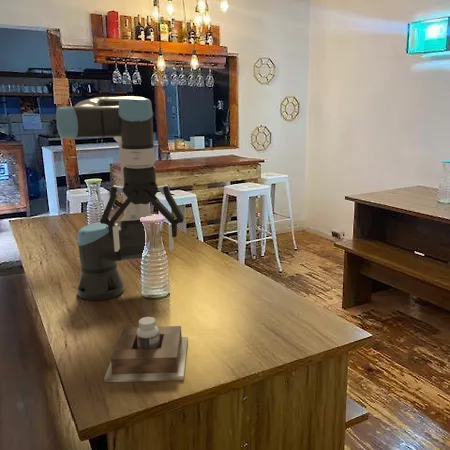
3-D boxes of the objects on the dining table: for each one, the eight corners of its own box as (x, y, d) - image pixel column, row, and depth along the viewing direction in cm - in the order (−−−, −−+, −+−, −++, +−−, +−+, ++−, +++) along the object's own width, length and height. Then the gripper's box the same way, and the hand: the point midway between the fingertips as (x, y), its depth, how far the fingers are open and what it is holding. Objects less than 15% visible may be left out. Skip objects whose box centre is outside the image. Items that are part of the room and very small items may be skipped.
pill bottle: (133, 357, 111) (131, 321, 108) (150, 348, 115) (148, 313, 112) (148, 365, 108) (145, 327, 105) (165, 355, 112) (163, 319, 109)
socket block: (104, 382, 103) (102, 362, 102) (120, 341, 120) (118, 324, 119) (183, 380, 103) (182, 360, 102) (187, 340, 121) (187, 323, 119)
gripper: (81, 168, 104) (90, 255, 110) (190, 167, 104) (193, 253, 110) (90, 163, 111) (98, 245, 117) (192, 162, 111) (194, 243, 118)
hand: (144, 249), depth 114 cm, fingers open, 13 cm apart
